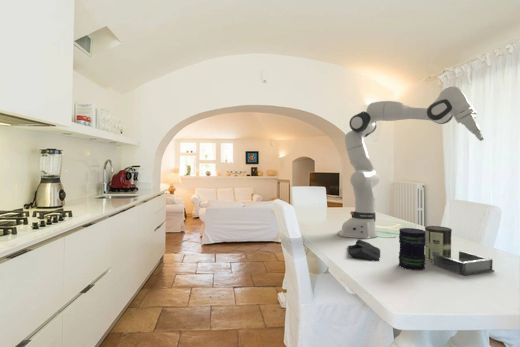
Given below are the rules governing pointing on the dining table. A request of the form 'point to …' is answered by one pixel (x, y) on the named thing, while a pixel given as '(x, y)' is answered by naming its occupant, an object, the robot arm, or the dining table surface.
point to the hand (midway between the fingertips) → (481, 139)
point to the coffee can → (437, 242)
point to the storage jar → (412, 248)
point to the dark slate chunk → (364, 251)
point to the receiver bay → (464, 263)
